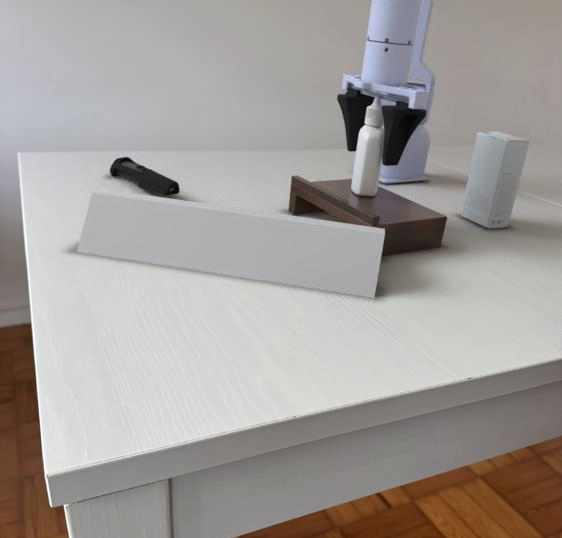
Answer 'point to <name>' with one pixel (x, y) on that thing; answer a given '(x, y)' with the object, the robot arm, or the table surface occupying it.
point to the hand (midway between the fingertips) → (371, 157)
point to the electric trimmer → (144, 177)
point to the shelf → (371, 213)
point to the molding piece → (234, 242)
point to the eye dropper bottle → (369, 152)
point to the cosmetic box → (494, 178)
